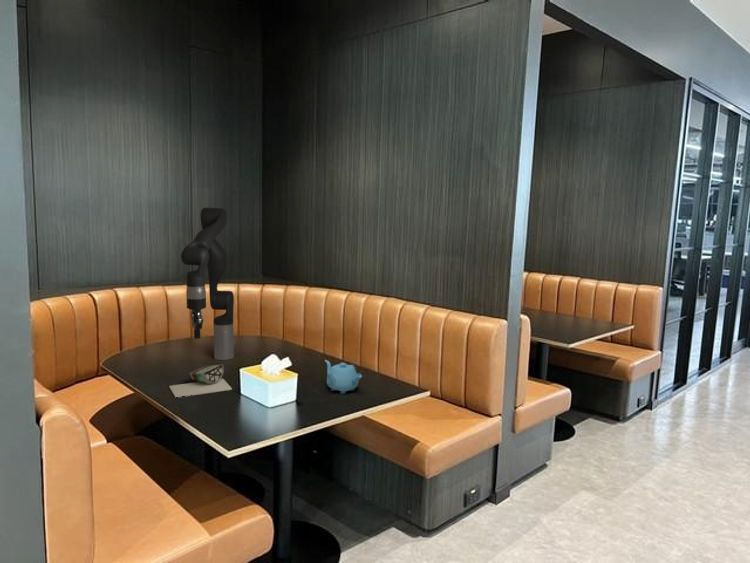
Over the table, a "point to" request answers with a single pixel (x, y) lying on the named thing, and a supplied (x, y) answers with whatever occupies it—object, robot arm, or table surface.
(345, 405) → the table surface
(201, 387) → the mat
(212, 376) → the food container
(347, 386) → the teapot
